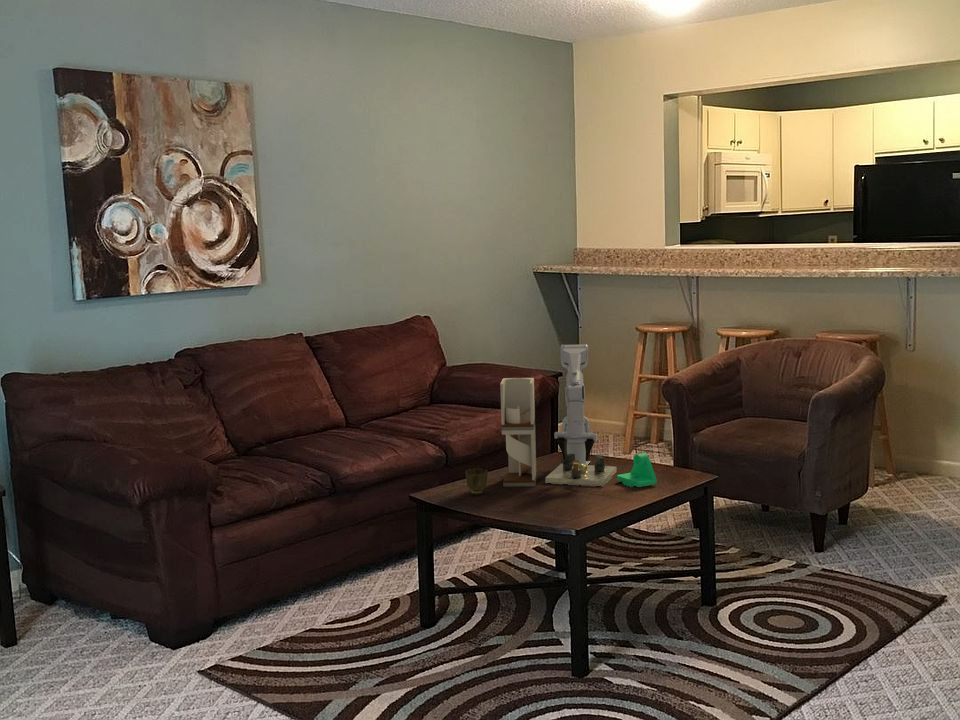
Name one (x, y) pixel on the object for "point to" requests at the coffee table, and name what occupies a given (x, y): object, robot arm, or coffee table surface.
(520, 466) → the white dispenser tower
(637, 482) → the camera mount
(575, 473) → the tan-ended square prism
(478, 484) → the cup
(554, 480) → the base
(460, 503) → the coffee table surface
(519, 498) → the coffee table surface
